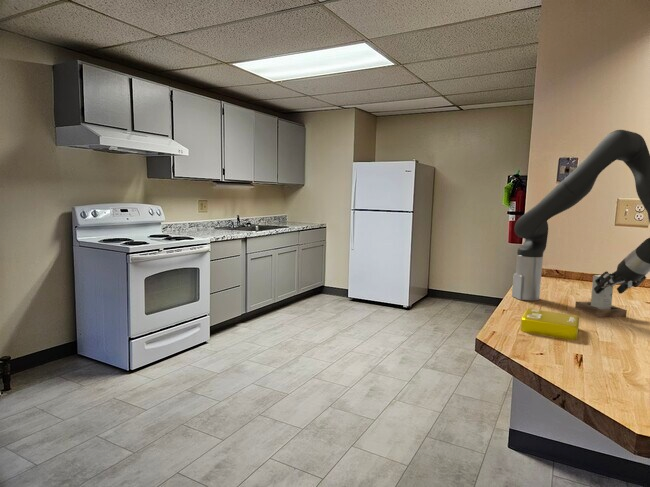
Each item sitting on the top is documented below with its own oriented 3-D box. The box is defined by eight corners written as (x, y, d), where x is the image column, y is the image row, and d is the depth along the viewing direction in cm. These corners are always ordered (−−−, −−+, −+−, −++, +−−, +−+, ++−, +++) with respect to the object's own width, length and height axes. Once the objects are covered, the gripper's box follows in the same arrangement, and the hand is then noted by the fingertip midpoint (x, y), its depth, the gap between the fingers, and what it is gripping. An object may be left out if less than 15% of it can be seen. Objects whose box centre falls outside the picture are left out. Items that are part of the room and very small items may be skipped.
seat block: (598, 317, 145) (599, 310, 145) (575, 308, 157) (575, 301, 157) (626, 317, 146) (626, 310, 146) (600, 308, 158) (601, 301, 158)
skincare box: (602, 312, 148) (606, 277, 147) (589, 309, 152) (592, 275, 150) (611, 309, 151) (615, 276, 150) (598, 307, 155) (601, 274, 154)
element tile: (576, 342, 121) (578, 326, 120) (519, 332, 129) (520, 317, 128) (578, 329, 133) (579, 314, 133) (525, 320, 141) (526, 306, 141)
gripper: (651, 254, 139) (621, 282, 152) (611, 254, 138) (583, 282, 150) (664, 273, 134) (631, 300, 147) (622, 273, 133) (593, 300, 146)
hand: (607, 291), depth 149 cm, fingers open, 8 cm apart
